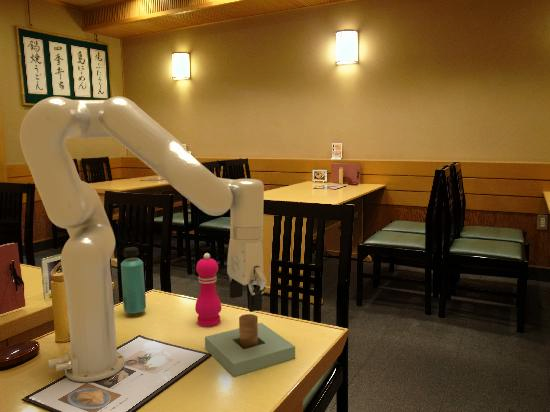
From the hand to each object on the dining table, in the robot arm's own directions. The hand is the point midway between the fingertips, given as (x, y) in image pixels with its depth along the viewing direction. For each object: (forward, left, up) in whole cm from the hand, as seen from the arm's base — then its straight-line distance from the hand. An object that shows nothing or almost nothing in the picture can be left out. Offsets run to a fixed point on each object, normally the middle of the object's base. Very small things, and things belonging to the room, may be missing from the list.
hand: (245, 303), depth 111 cm
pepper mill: (0, +22, -13) cm, 25 cm away
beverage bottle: (-16, +39, -13) cm, 44 cm away
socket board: (+1, 0, -13) cm, 13 cm away
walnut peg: (+1, 0, -13) cm, 13 cm away
